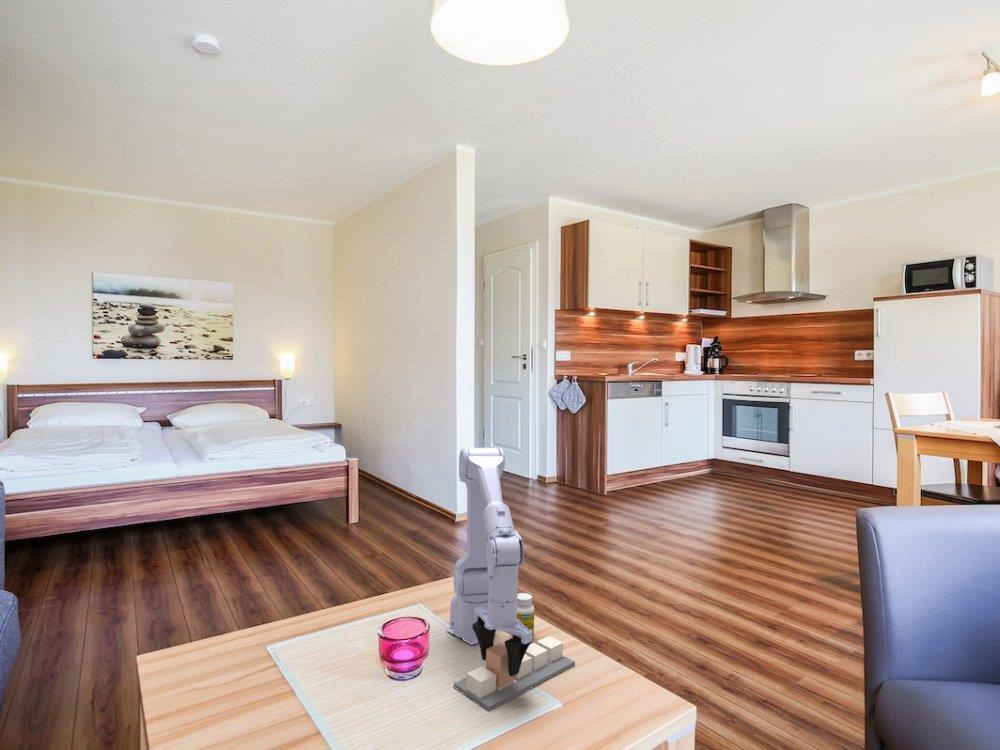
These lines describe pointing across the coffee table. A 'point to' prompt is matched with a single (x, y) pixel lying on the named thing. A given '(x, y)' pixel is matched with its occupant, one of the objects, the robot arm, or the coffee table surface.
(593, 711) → the coffee table surface
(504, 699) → the block set board
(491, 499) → the robot arm
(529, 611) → the supplement bottle
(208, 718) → the coffee table surface
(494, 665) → the terracotta block
